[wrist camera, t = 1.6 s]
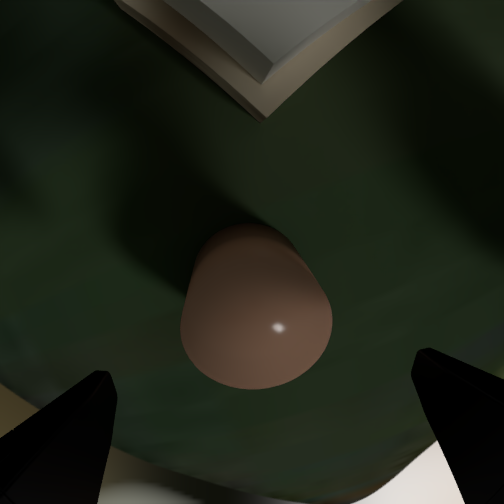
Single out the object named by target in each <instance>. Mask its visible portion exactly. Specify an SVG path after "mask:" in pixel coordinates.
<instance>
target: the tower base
mask: <svg viewBox="0 0 504 504" xmlns="http://www.w3.org/2000/svg"><path fill="white" fill-rule="evenodd" d="M114 1H115V2H116V3H117V5H118V6H119V7H120V8H121V9H122V10H123V11H124V12H126V13H127V14H129V15H130V16H132V17H133V18H134V19H136V20H137V21H138V22H140V23H141V24H143V25H144V26H145V27H147V28H148V29H149V30H151V31H152V32H153V33H155V34H156V35H157V36H159V37H160V38H161V39H162V40H164V41H165V42H166V43H168V44H169V45H170V46H171V47H173V48H174V49H175V50H177V51H178V52H179V53H180V54H182V55H183V56H184V57H185V58H186V59H188V60H189V61H190V62H191V63H193V64H194V65H195V66H196V67H197V68H199V69H200V70H201V71H202V72H203V73H205V74H206V75H207V76H208V77H209V78H210V79H212V80H213V81H214V82H215V83H216V84H217V85H219V86H220V87H221V88H222V89H223V90H224V91H225V92H227V93H228V94H229V95H230V96H231V97H232V98H233V99H234V100H236V101H237V102H238V103H239V104H240V105H241V106H242V107H243V108H244V109H246V110H247V111H248V112H249V113H250V114H251V115H252V116H253V117H254V118H255V119H256V120H257V121H258V122H260V123H261V122H262V121H263V120H265V119H266V118H267V117H268V116H269V115H270V114H271V113H272V112H273V111H274V110H275V109H276V108H277V107H279V106H280V105H281V104H282V103H283V102H284V101H285V100H286V99H287V98H288V97H289V96H290V95H291V94H292V93H293V92H294V91H295V90H297V89H298V88H299V87H300V86H301V85H302V84H303V83H304V82H305V81H306V80H307V79H309V78H310V77H311V76H312V75H313V74H314V73H315V72H316V71H317V70H319V69H320V68H321V67H322V66H323V65H324V64H325V63H327V62H328V61H329V60H330V59H331V58H332V57H333V56H335V55H336V54H337V53H338V52H339V51H340V50H342V49H343V48H344V47H345V46H346V45H347V44H349V43H350V42H351V41H352V40H353V39H355V38H356V37H357V36H358V35H359V34H361V33H362V32H363V31H364V30H366V29H367V28H368V27H369V26H371V25H372V24H373V23H374V22H376V21H377V20H378V19H379V18H381V17H382V16H383V15H384V14H386V13H387V12H388V11H390V10H391V9H392V8H394V7H395V6H396V5H397V4H399V3H400V2H401V1H403V0H372V1H370V2H369V3H367V4H366V5H364V6H363V7H361V8H360V9H358V10H357V11H355V12H354V13H353V14H351V15H350V16H348V17H347V18H345V19H344V20H343V21H341V22H340V23H338V24H337V25H336V26H334V27H333V28H332V29H330V30H329V31H328V32H326V33H325V34H324V35H322V36H321V37H320V38H318V39H317V40H316V41H314V42H313V43H312V44H310V45H309V46H308V47H307V48H305V49H304V50H303V51H302V52H300V53H299V54H298V55H297V56H295V57H294V58H293V59H292V60H290V61H289V62H288V63H287V64H285V65H284V66H283V67H282V68H281V69H279V70H278V71H277V72H276V73H275V74H274V75H272V76H271V77H270V78H269V79H268V80H267V81H265V82H264V83H263V84H262V85H261V84H260V83H259V82H258V81H257V80H256V79H255V78H254V77H253V76H252V75H251V74H250V73H249V72H248V71H247V70H245V69H244V68H243V67H242V66H241V65H240V64H239V63H238V62H237V61H236V60H235V59H233V58H232V57H231V56H230V55H229V54H228V53H227V52H226V51H225V50H223V49H222V48H221V47H220V46H219V45H218V44H216V43H215V42H214V41H213V40H212V39H211V38H209V37H208V36H207V35H206V34H205V33H204V32H202V31H201V30H200V29H199V28H197V27H196V26H195V25H194V24H193V23H191V22H190V21H189V20H188V19H186V18H185V17H184V16H183V15H181V14H180V13H179V12H177V11H176V10H175V9H174V8H172V7H171V6H170V5H168V4H167V3H166V2H164V1H163V0H114Z"/></svg>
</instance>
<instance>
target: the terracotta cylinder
mask: <svg viewBox="0 0 504 504" xmlns="http://www.w3.org/2000/svg"><path fill="white" fill-rule="evenodd" d="M331 330H332V311H331V307H330V304H329V301H328V299H327V296H326V294H325V293H324V291H323V290H322V288H321V287H320V285H319V283H318V282H317V280H316V279H315V277H314V276H313V274H312V273H311V271H310V270H309V268H308V267H307V265H306V264H305V262H304V261H303V259H302V258H301V256H300V255H299V253H298V252H297V250H296V249H295V247H294V246H293V244H292V243H291V242H290V241H289V239H288V238H287V237H285V236H284V235H283V234H282V233H280V232H279V231H277V230H276V229H273V228H271V227H269V226H266V225H262V224H256V223H242V224H236V225H232V226H229V227H226V228H224V229H222V230H220V231H218V232H217V233H216V234H214V235H213V236H212V237H210V238H209V239H208V240H207V241H206V243H205V244H204V245H203V246H202V248H201V249H200V251H199V253H198V255H197V257H196V260H195V264H194V268H193V272H192V276H191V280H190V284H189V288H188V292H187V296H186V300H185V304H184V308H183V312H182V317H181V324H180V331H181V339H182V343H183V346H184V349H185V351H186V353H187V355H188V357H189V358H190V360H191V361H192V362H193V364H194V365H195V366H196V367H197V368H198V369H199V370H200V371H201V372H203V373H204V374H205V375H207V376H208V377H210V378H211V379H213V380H215V381H217V382H219V383H222V384H224V385H227V386H231V387H235V388H241V389H263V388H270V387H274V386H278V385H281V384H284V383H286V382H288V381H291V380H293V379H295V378H296V377H298V376H300V375H301V374H303V373H304V372H305V371H307V370H308V369H309V368H310V367H311V366H312V365H313V364H314V363H315V362H316V361H317V360H318V359H319V357H320V356H321V354H322V353H323V351H324V350H325V348H326V346H327V344H328V341H329V338H330V335H331Z"/></svg>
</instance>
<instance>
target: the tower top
mask: <svg viewBox="0 0 504 504" xmlns="http://www.w3.org/2000/svg"><path fill="white" fill-rule="evenodd" d="M163 1H164V2H166V3H167V4H168V5H170V6H171V7H172V8H174V9H175V10H176V11H177V12H179V13H180V14H181V15H183V16H184V17H185V18H186V19H188V20H189V21H190V22H191V23H193V24H194V25H195V26H196V27H197V28H199V29H200V30H201V31H202V32H204V33H205V34H206V35H207V36H208V37H209V38H211V39H212V40H213V41H214V42H215V43H216V44H218V45H219V46H220V47H221V48H222V49H223V50H225V51H226V52H227V53H228V54H229V55H230V56H231V57H232V58H233V59H235V60H236V61H237V62H238V63H239V64H240V65H241V66H242V67H243V68H244V69H245V70H247V71H248V72H249V73H250V74H251V75H252V76H253V77H254V78H255V79H256V80H257V81H258V82H259V83H260V84H261V85H262V84H263V83H264V82H265V81H267V80H268V79H269V78H270V77H271V76H272V75H274V74H275V73H276V72H277V71H278V70H279V69H281V68H282V67H283V66H284V65H285V64H287V63H288V62H289V61H290V60H292V59H293V58H294V57H295V56H297V55H298V54H299V53H300V52H302V51H303V50H304V49H305V48H307V47H308V46H309V45H310V44H312V43H313V42H314V41H316V40H317V39H318V38H320V37H321V36H322V35H324V34H325V33H326V32H328V31H329V30H330V29H332V28H333V27H334V26H336V25H337V24H338V23H340V22H341V21H343V20H344V19H345V18H347V17H348V16H350V15H351V14H353V13H354V12H355V11H357V10H358V9H360V8H361V7H363V6H364V5H366V4H367V3H369V2H370V1H372V0H163Z"/></svg>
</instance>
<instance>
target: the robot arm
mask: <svg viewBox="0 0 504 504" xmlns="http://www.w3.org/2000/svg"><path fill="white" fill-rule="evenodd" d="M411 377H412V380H413V383H414V385H415V388H416V391H417V393H418V396H419V399H420V402H421V404H422V407H423V410H424V412H425V415H426V417H427V420H428V422H429V424H430V426H431V428H432V430H433V432H434V434H435V436H436V439H437V441H438V443H439V445H440V447H441V449H442V451H443V454H444V456H445V458H446V460H447V462H448V465H449V467H450V469H451V472H452V474H453V476H454V478H455V481H456V483H457V485H458V488H459V490H460V493H461V495H462V498H463V500H464V502H465V504H504V379H501V378H499V377H497V376H494V375H492V374H490V373H487V372H485V371H483V370H480V369H478V368H476V367H473V366H471V365H469V364H467V363H464V362H462V361H460V360H457V359H455V358H453V357H450V356H448V355H446V354H444V353H441V352H439V351H437V350H434V349H432V348H425V349H420V350H419V351H418V352H417V354H416V357H415V360H414V364H413V367H412V371H411ZM116 405H117V392H116V389H115V386H114V383H113V380H112V377H111V374H110V373H109V372H108V371H99V370H97V371H94V372H93V373H91V374H90V375H88V376H87V377H86V378H84V379H83V380H81V381H80V382H79V383H77V384H76V385H74V386H73V387H72V388H70V389H69V390H67V391H66V392H65V393H63V394H62V395H60V396H59V397H58V398H56V399H55V400H53V401H52V402H51V403H49V404H48V405H46V406H45V407H44V408H42V409H41V410H39V411H38V412H37V413H35V414H34V415H32V416H31V417H29V418H28V419H27V420H25V421H24V422H22V423H21V424H20V425H18V426H17V427H16V428H14V431H13V430H11V431H10V432H8V433H7V434H5V435H4V436H3V437H1V438H0V504H97V502H98V498H99V492H100V488H101V484H102V479H103V475H104V471H105V466H106V462H107V458H108V454H109V450H110V446H111V440H112V434H113V426H114V419H115V412H116Z"/></svg>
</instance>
